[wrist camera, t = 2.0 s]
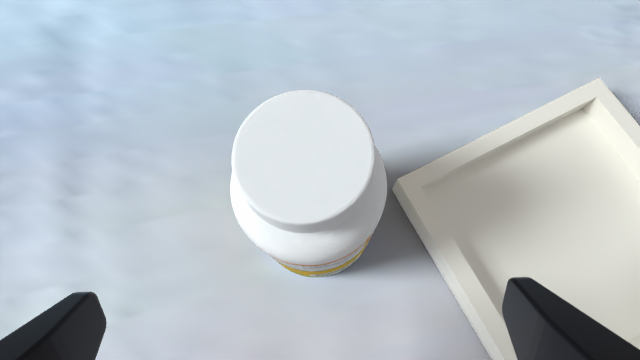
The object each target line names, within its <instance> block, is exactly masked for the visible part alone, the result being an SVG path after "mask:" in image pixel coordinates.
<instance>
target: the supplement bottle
mask: <svg viewBox="0 0 640 360" xmlns="http://www.w3.org/2000/svg"><path fill="white" fill-rule="evenodd" d="M232 170H233V171H232V175H231V183H230V194H231V202H232V207H233V210H234V213H235V216H236V218H237V220H238V222H239V224H240V226H241V228H242V229H243V230H244V232H245V233H246V235H247V236H248V237H249V238H250V239H251V240H252V241H253V242H254V243H255V244H256V245H257V246H258V247H259V248H260V249H261V250H263V251H264V252H265V253H267V254H268V255H270V256H271V257H272V258H273V259H275V260H276V261H277V262H278V263H280V264H281V265H282V266H284V267H285V268H287V269H288V270H290V271H292V272H294V273H296V274H299V275H302V276H307V277H325V276H330V275H334V274H336V273H339V272H341V271H343V270H345V269H346V268H348V267H349V266H350V265H352V264H353V263H354V262H355V261H356V260H357V259H358V258H359V257H360V255H361V254H362V253H363V251H364V249H365V248H366V246H367V244H368V242H369V240H370V238H371V236H372V234H373V232H374V230H375V228H376V227H377V225H378V223H379V220H380V218H381V215H382V213H383V210H384V206H385V203H386V197H387V176H386V171H385V167H384V163H383V160H382V158H381V156H380V154H379V152H378V150H377V148H376V147H375V145H374V140H373V137H372V134H371V132H370V129H369V127H368V125H367V124H366V122H365V120H364V119H363V118H362V117H361V115H360V114H359V113H358V112H357V111H356V110H355V109H354V108H353V107H352V106H351V105H349V104H348V103H346V102H345V101H343V100H342V99H340V98H338V97H336V96H333V95H331V94H328V93H325V92H321V91H315V90H296V91H290V92H286V93H283V94H279V95H277V96H275V97H272V98H270V99H268V100H267V101H265V102H263V103H262V104H260V105H259V106H258V107H257V108H256V109H255V110H253V111H252V112H251V113H250V114H249V115H248V117H247V118H246V119H245V121H244V122H243V123H242V125H241V127H240V128H239V130H238V133H237V135H236V138H235V140H234V144H233V149H232Z"/></svg>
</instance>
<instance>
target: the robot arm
mask: <svg viewBox="0 0 640 360" xmlns="http://www.w3.org/2000/svg"><path fill="white" fill-rule="evenodd" d="M502 314H503V318H504V321H505V324H506V327H507V330H508V333H509V336H510V339H511V342H512V345H513V348H514V351H515V354H516V357H517V360H640V349H638V348H637V347H635V346H634V345H632V344H631V343H629V342H628V341H626V340H625V339H623V338H622V337H620V336H619V335H617V334H616V333H614V332H612V331H611V330H609V329H608V328H606V327H605V326H603V325H602V324H600V323H599V322H597V321H596V320H594V319H593V318H591V317H590V316H588V315H587V314H585V313H584V312H582V311H581V310H579V309H578V308H576V307H575V306H573V305H572V304H570V303H569V302H567V301H565V300H564V299H562V298H561V297H559V296H558V295H556V294H555V293H553V292H552V291H550V290H549V289H547V288H546V287H544V286H543V285H541V284H540V283H538V282H537V281H535V280H534V279H532V278H530V277H512V278H510V279H509V280H508V282H507V286H506V290H505V294H504V299H503V303H502ZM105 329H106V317H105V315H104V312H103V310H102V307H101V305H100V302H99V300H98V297H97V295H96V294H95V293H93V292H76V293H72V294H71V295H69V296H67V297H66V298H64V299H63V300H61V301H60V302H58V303H57V304H55V305H54V306H52V307H51V308H49V309H48V310H46V311H45V312H43V313H41V314H40V315H38V316H37V317H35V318H34V319H32V320H31V321H29V322H28V323H26V324H25V325H23V326H22V327H20V328H18V329H17V330H15V331H14V332H12V333H11V334H9V335H8V336H6V337H5V338H3V339H2V340H0V360H95V358H96V356H97V353H98V350H99V347H100V344H101V341H102V338H103V335H104V332H105Z"/></svg>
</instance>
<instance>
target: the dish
mask: <svg viewBox="0 0 640 360" xmlns="http://www.w3.org/2000/svg"><path fill="white" fill-rule="evenodd" d="M392 191H393V193H394V194H395V196H396V198H397V199H398V201H399V203H400V205H401V206H402V208H403V210H404V211H405V213H406V215H407V217H408V218H409V220H410V222H411V223H412V225H413V227H414V228H415V230H416V232H417V234H418V235H419V237H420V239H421V240H422V242H423V244H424V245H425V247H426V249H427V251H428V252H429V254H430V256H431V257H432V259H433V261H434V263H435V264H436V266H437V268H438V269H439V271H440V273H441V274H442V276H443V278H444V280H445V281H446V283H447V285H448V286H449V288H450V290H451V292H452V293H453V295H454V297H455V298H456V300H457V302H458V303H459V305H460V307H461V309H462V310H463V312H464V314H465V315H466V317H467V319H468V320H469V322H470V324H471V326H472V327H473V329H474V331H475V332H476V334H477V336H478V338H479V339H480V341H481V343H482V344H483V346H484V348H485V349H486V351H487V353H488V355H489V356H490V358H491V360H517V357H516V354H515V351H514V348H513V345H512V342H511V339H510V336H509V333H508V330H507V327H506V324H505V321H504V318H503V314H502V303H503V299H504V294H505V290H506V286H507V282H508V280H509V279H510V278H512V277H530V278H532V279H534V280H535V281H537V282H538V283H540V284H541V285H543V286H544V287H546V288H547V289H549V290H550V291H552V292H553V293H555V294H556V295H558V296H559V297H561V298H562V299H564V300H565V301H567V302H569V303H570V304H572V305H573V306H575V307H576V308H578V309H579V310H581V311H582V312H584V313H585V314H587V315H588V316H590V317H591V318H593V319H594V320H596V321H597V322H599V323H600V324H602V325H603V326H605V327H606V328H608V329H609V330H611V331H612V332H614V333H616V334H617V335H619V336H620V337H622V338H623V339H625V340H626V341H628V342H629V343H631V344H632V345H634V346H635V347H637V348H638V349H640V126H639V124H638V123H637V122H636V121H635V120H634V118H633V117H632V116H631V115H630V114H629V112H628V111H627V110H626V109H625V108H624V107H623V105H622V104H621V103H620V102H619V101H618V99H617V98H616V97H615V96H614V95H613V93H612V92H611V91H610V90H609V89H608V87H607V86H606V85H605V84H604V83H603V81H602V80H601V79H600V78H597V79H595V80H593V81H591V82H589V83H587V84H585V85H583V86H581V87H579V88H577V89H575V90H573V91H571V92H569V93H567V94H565V95H564V96H562V97H560V98H558V99H556V100H554V101H552V102H550V103H548V104H546V105H544V106H542V107H540V108H538V109H536V110H534V111H532V112H530V113H528V114H526V115H524V116H522V117H520V118H518V119H516V120H514V121H512V122H510V123H508V124H506V125H504V126H502V127H500V128H498V129H496V130H494V131H492V132H490V133H488V134H486V135H484V136H482V137H480V138H478V139H476V140H474V141H472V142H470V143H468V144H466V145H464V146H462V147H460V148H458V149H456V150H454V151H452V152H450V153H448V154H446V155H444V156H442V157H440V158H438V159H436V160H434V161H432V162H430V163H428V164H426V165H424V166H422V167H420V168H418V169H416V170H414V171H412V172H410V173H408V174H406V175H404V176H402V177H400V178H398V179H397V180H396V182H395V184H394V186H393V188H392Z"/></svg>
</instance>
